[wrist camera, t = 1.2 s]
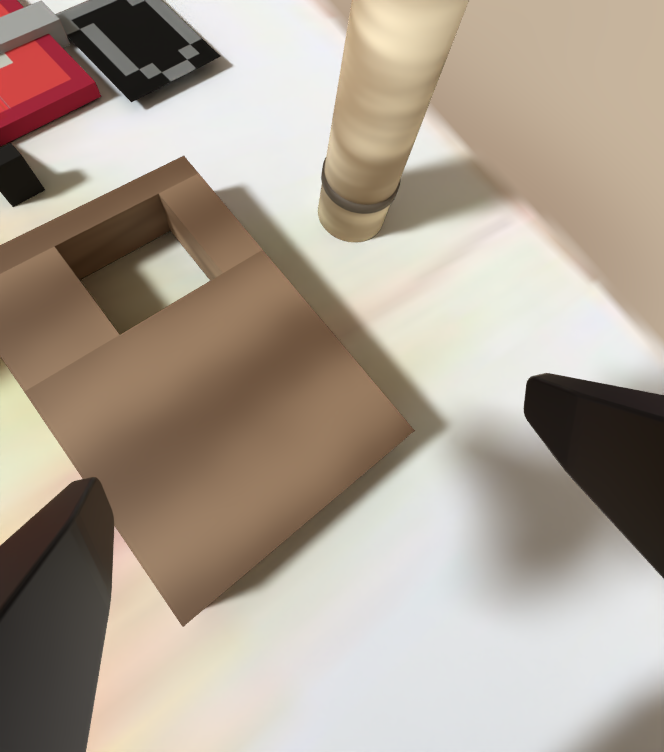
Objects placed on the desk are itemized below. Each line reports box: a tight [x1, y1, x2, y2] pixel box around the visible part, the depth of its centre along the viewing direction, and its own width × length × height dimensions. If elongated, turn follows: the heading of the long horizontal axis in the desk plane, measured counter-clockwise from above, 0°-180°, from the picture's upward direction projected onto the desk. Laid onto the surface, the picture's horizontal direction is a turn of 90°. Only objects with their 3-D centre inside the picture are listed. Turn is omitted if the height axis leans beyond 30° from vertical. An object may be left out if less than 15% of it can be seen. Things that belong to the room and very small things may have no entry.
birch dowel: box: [318, 0, 469, 242], centre depth 21 cm, size 4×4×13 cm
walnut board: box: [0, 156, 415, 626], centre depth 22 cm, size 18×12×3 cm, turn 39°
